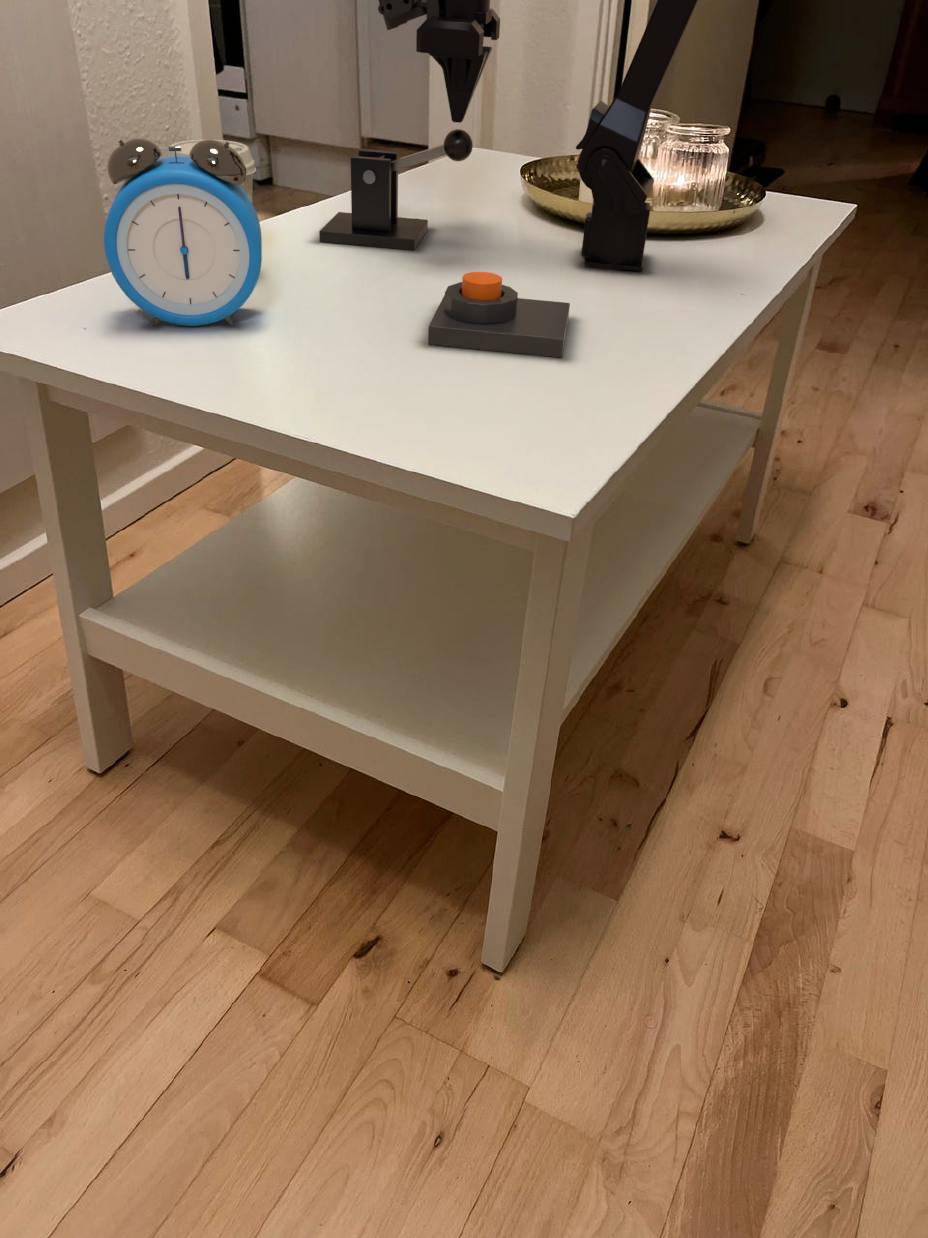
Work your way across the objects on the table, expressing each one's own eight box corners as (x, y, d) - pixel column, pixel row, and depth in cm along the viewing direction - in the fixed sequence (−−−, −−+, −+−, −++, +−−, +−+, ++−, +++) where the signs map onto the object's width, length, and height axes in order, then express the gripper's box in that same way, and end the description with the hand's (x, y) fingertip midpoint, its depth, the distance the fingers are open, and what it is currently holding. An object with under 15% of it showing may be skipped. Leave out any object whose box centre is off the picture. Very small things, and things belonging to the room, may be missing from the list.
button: (502, 292, 91) (504, 273, 90) (498, 304, 88) (499, 285, 87) (464, 288, 92) (465, 269, 90) (458, 301, 89) (459, 281, 88)
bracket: (427, 229, 119) (429, 150, 114) (414, 250, 112) (415, 166, 106) (338, 221, 120) (336, 142, 115) (319, 241, 112) (316, 158, 107)
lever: (477, 153, 110) (469, 122, 109) (474, 158, 108) (465, 127, 106) (371, 186, 114) (361, 157, 112) (365, 192, 111) (355, 163, 110)
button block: (568, 320, 95) (572, 283, 93) (561, 357, 87) (566, 318, 85) (445, 308, 96) (446, 272, 94) (427, 344, 88) (428, 305, 86)
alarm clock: (116, 330, 87) (86, 145, 78) (124, 306, 92) (96, 130, 83) (266, 328, 89) (254, 148, 81) (266, 305, 94) (254, 133, 85)
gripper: (402, -59, 106) (401, 102, 116) (364, -54, 91) (365, 131, 101) (505, -53, 105) (495, 110, 115) (482, -47, 90) (473, 139, 100)
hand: (457, 121), depth 107 cm, fingers closed
